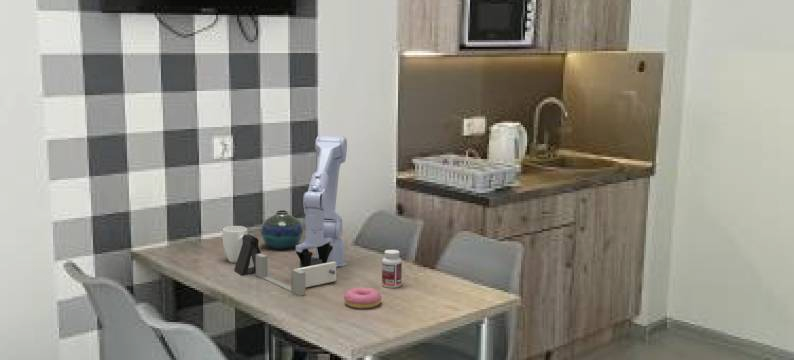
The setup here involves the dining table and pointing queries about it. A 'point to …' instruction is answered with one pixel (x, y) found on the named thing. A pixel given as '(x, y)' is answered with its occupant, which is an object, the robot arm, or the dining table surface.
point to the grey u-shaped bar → (296, 281)
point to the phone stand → (247, 255)
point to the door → (319, 273)
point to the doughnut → (362, 297)
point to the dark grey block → (313, 261)
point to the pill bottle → (391, 269)
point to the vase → (281, 230)
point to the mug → (233, 241)
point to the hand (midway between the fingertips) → (314, 269)
